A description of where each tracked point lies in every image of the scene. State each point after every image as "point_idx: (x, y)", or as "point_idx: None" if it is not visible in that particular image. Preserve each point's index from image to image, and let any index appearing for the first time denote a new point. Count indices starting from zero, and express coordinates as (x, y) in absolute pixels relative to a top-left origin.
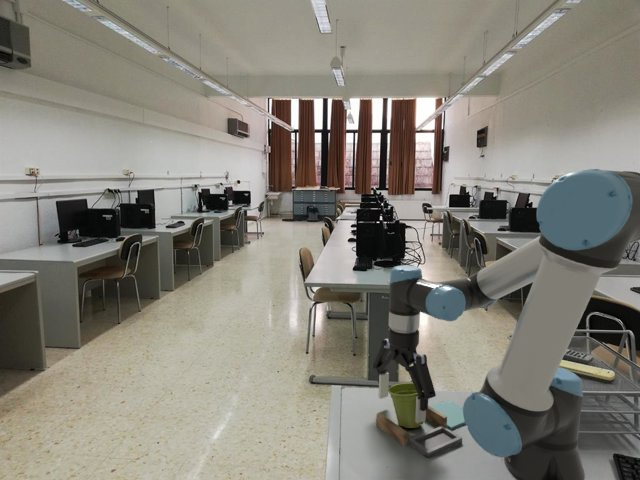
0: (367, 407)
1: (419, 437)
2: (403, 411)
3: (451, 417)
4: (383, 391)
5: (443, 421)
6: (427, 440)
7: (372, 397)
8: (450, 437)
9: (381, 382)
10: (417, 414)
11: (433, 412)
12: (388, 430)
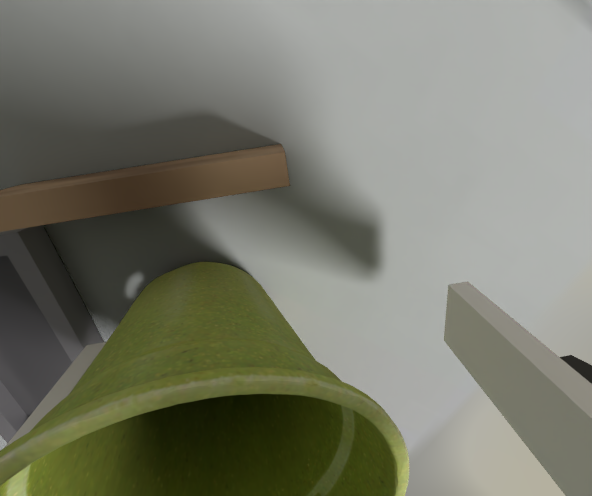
0: (470, 196)
1: (30, 293)
2: (117, 331)
3: None
4: (476, 337)
5: None
6: (42, 319)
7: (530, 273)
8: None
9: (552, 389)
10: (47, 397)
11: None
12: (155, 165)
